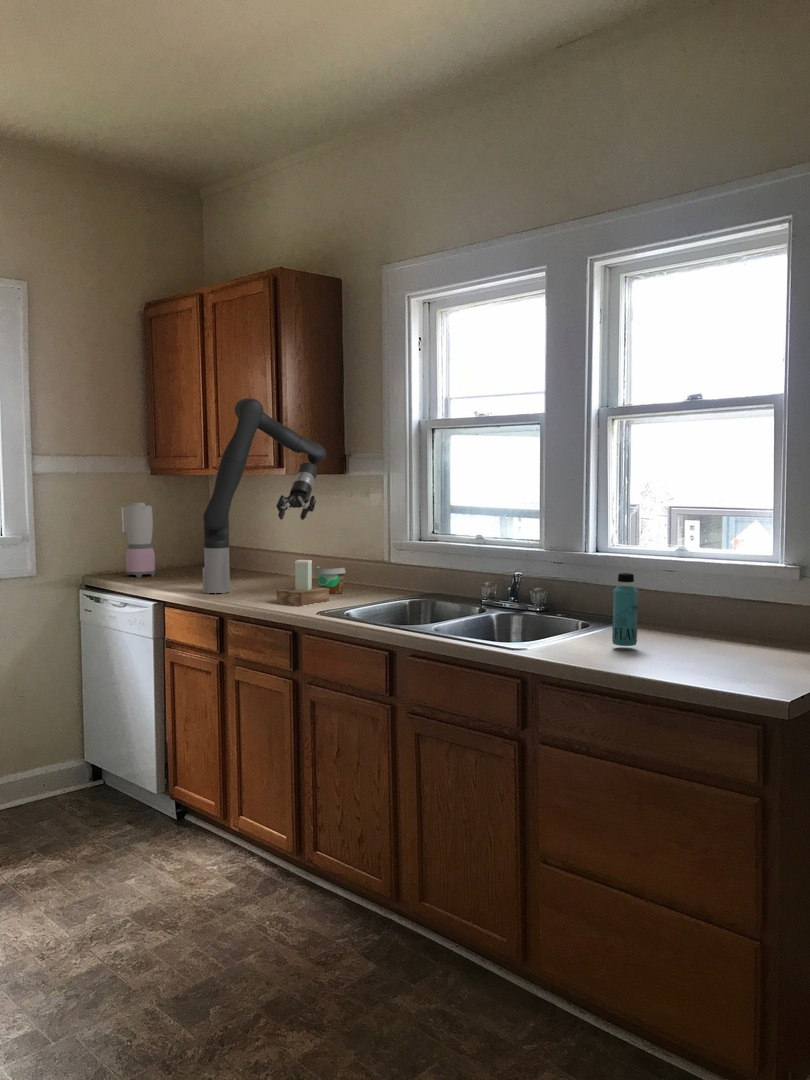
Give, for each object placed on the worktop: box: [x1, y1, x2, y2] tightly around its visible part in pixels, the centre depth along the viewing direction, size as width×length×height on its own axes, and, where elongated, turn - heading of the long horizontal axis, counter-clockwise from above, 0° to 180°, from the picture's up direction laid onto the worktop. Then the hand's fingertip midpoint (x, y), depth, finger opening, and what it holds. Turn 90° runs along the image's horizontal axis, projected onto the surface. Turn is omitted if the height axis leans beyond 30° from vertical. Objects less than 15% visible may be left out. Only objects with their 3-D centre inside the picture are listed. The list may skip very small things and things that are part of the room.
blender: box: [125, 502, 156, 578], centre depth 389 cm, size 16×12×32 cm
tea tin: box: [294, 559, 313, 590], centre depth 311 cm, size 5×5×10 cm
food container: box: [315, 566, 347, 595], centre depth 331 cm, size 12×6×10 cm, turn 62°
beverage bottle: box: [611, 572, 639, 647], centre depth 231 cm, size 6×7×20 cm
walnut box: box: [275, 586, 330, 607], centre depth 312 cm, size 12×14×5 cm
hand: (291, 518), depth 328 cm, fingers open, 8 cm apart
